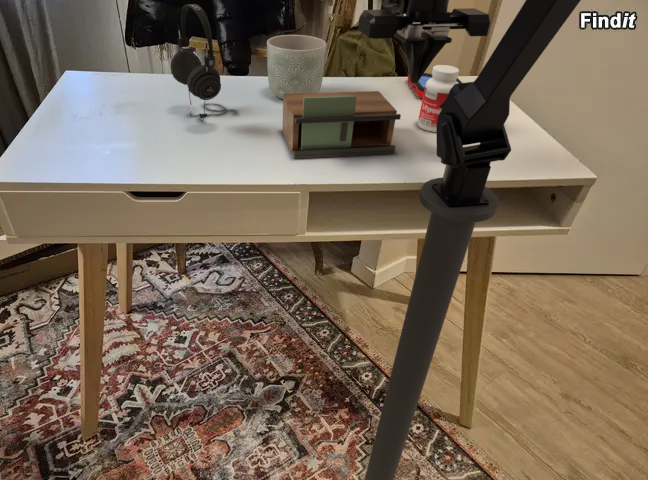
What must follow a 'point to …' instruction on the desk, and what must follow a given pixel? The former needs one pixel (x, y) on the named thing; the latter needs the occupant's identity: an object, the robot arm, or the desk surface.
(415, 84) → the game console
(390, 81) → the desk surface
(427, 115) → the pill bottle
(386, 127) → the cabinet
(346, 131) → the sliding door
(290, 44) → the planter
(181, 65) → the headphones
